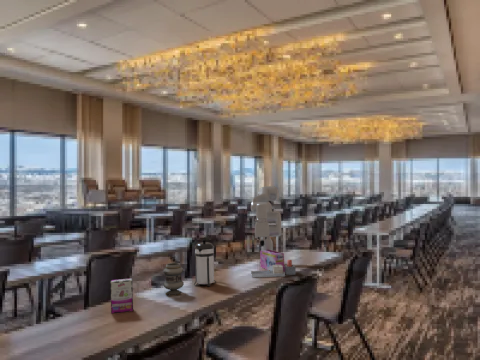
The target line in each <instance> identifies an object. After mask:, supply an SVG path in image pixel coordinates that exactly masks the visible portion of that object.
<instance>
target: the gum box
mask: <svg viewBox="0 0 480 360" xmlns="http://www.w3.org/2000/svg"><path fill="white" fill-rule="evenodd" d="M259 250H260V249H259ZM259 252H260V257H259V258H260V260H259V264H260V265H259V266H260V268H261V267H262V268H261V269H264V268H265V270H266V271H269V270H270V271H273V265H282V266H283V270H284V265H285V253H283V252H280V251H276V250H273V251H272V250H269V249H267V250H266V251H262V250H260V251H259Z"/></svg>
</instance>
